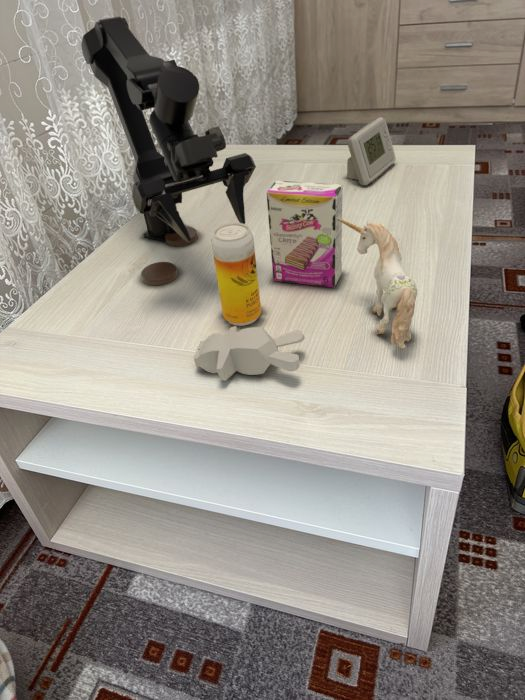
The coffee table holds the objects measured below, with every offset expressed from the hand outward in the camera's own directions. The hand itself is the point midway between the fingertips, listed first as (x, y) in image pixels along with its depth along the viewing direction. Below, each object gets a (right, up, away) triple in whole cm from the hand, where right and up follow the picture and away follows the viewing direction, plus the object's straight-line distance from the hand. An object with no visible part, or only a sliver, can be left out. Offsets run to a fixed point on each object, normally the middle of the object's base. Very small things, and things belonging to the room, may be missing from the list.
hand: (216, 232), depth 84 cm
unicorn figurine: (+23, -14, 0) cm, 27 cm away
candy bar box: (+15, -6, +11) cm, 19 cm away
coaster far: (-9, +4, +26) cm, 28 cm away
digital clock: (+32, +23, +44) cm, 59 cm away
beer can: (+4, -13, +4) cm, 14 cm away
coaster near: (-12, -5, +16) cm, 20 cm away
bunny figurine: (+5, -20, -6) cm, 22 cm away
